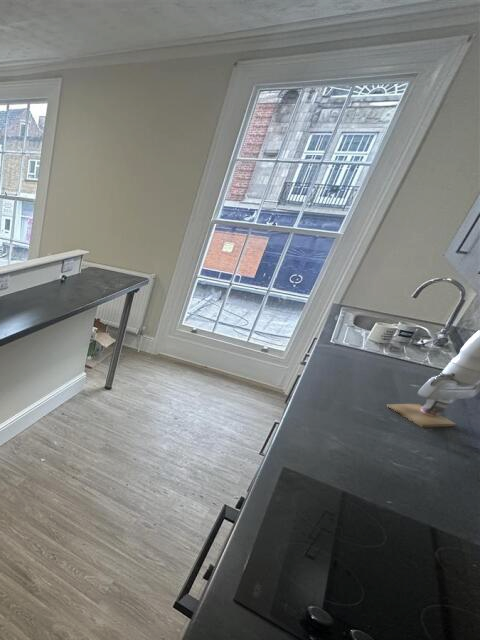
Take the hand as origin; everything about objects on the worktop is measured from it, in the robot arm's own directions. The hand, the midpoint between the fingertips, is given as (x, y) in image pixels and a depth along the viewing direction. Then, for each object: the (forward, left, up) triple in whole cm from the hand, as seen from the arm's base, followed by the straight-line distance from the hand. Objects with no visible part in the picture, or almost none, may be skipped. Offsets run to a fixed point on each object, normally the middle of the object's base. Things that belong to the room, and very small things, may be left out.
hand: (434, 407), depth 140 cm
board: (0, +4, -4) cm, 5 cm away
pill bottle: (0, 0, -3) cm, 3 cm away
